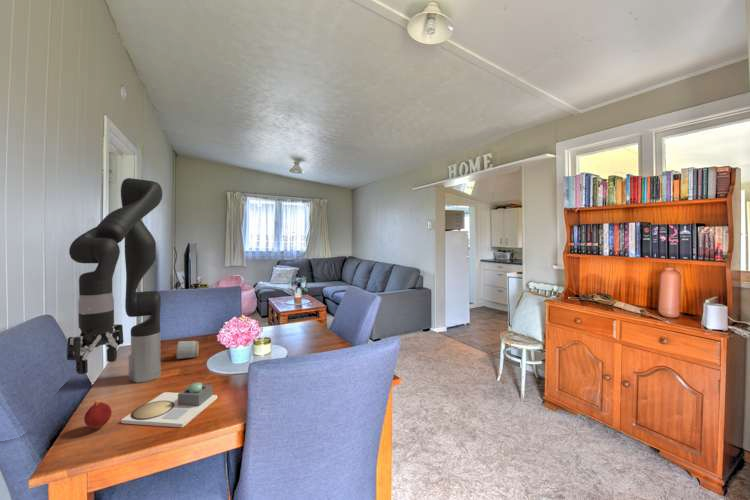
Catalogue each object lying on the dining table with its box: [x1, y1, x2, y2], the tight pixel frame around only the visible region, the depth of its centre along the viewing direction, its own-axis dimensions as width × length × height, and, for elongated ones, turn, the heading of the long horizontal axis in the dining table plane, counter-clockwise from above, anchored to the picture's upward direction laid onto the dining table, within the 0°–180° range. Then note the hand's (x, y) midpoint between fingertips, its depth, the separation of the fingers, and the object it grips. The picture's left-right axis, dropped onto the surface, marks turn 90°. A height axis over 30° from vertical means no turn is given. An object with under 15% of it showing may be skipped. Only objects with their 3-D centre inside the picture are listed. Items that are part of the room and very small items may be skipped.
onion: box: [83, 400, 113, 430], centre depth 90 cm, size 6×6×8 cm
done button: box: [188, 381, 203, 393], centre depth 105 cm, size 4×4×3 cm
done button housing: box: [178, 384, 213, 406], centre depth 105 cm, size 7×7×4 cm
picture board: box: [120, 391, 218, 428], centre depth 101 cm, size 20×17×1 cm
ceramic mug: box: [176, 340, 200, 360], centre depth 146 cm, size 11×8×8 cm
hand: (97, 367), depth 90 cm, fingers open, 8 cm apart
